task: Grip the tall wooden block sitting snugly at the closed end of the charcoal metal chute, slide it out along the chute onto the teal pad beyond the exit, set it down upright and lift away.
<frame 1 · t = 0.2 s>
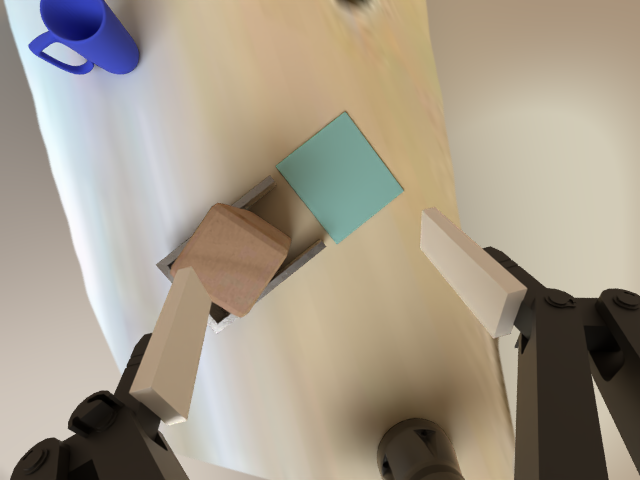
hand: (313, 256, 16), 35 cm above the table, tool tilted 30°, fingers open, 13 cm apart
chute: (251, 250, 50), on the table
wooden block: (255, 246, 50), resting in chute
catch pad: (340, 179, 51), on the table
mug: (112, 63, 46), on the table
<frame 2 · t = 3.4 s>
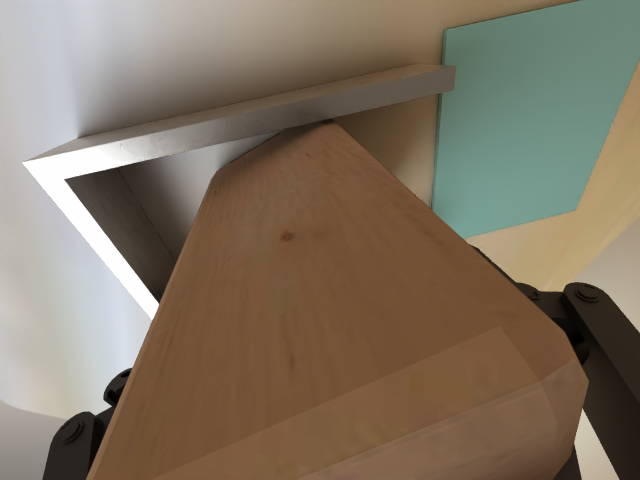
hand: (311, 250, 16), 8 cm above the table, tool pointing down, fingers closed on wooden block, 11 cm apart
chute: (285, 196, 23), on the table
wooden block: (297, 192, 23), resting in chute, touching gripper
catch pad: (523, 140, 24), on the table
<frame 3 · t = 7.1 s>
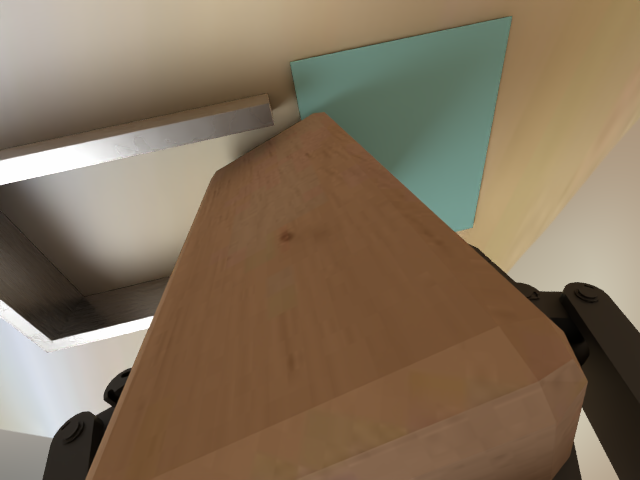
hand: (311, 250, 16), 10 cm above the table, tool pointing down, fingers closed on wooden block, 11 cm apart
chute: (165, 216, 23), on the table
wooden block: (297, 192, 23), point 1 cm above the table, touching gripper
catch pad: (400, 162, 24), on the table
when the fingers open (10 cm above the table, at t = 10.7 s): wooden block stays where it is, resting on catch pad.
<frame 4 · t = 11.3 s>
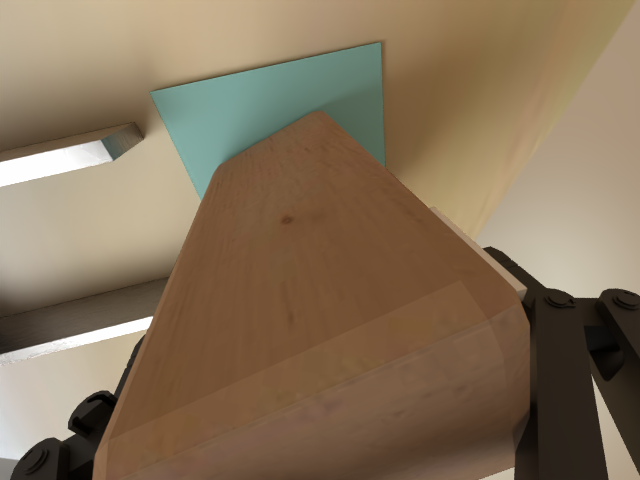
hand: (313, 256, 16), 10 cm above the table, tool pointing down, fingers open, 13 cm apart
chute: (54, 242, 23), on the table
wooden block: (295, 187, 24), resting on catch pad
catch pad: (296, 185, 24), on the table
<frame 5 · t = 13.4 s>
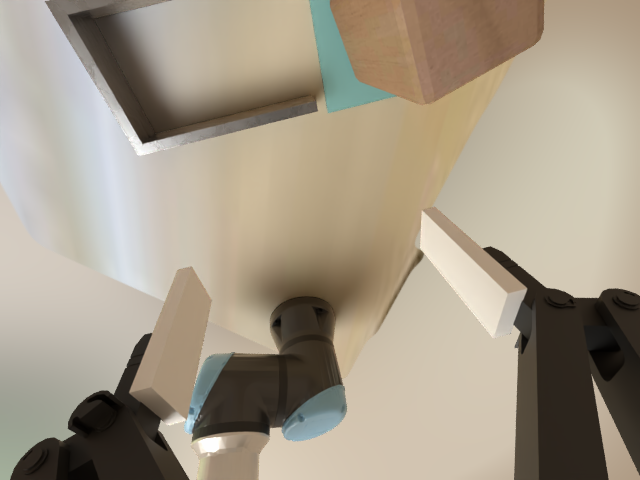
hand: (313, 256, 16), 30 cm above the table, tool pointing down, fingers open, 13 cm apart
chute: (214, 61, 34), on the table
wooden block: (376, 22, 34), resting on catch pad
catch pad: (376, 21, 35), on the table
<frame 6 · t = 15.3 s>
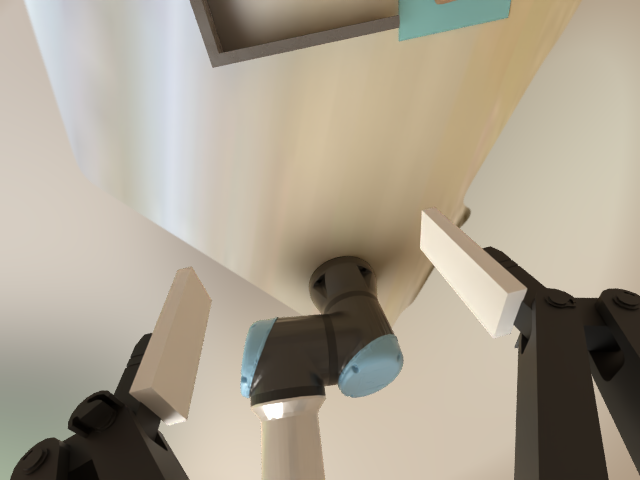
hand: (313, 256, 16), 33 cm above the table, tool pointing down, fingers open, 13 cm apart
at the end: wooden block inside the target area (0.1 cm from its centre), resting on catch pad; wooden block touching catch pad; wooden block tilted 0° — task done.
